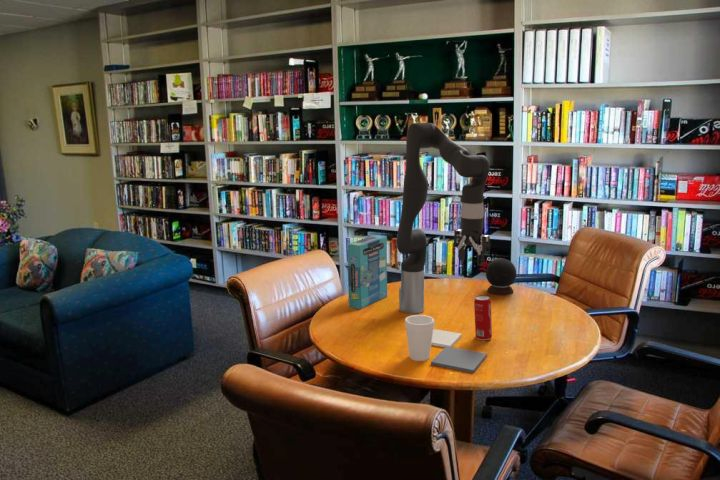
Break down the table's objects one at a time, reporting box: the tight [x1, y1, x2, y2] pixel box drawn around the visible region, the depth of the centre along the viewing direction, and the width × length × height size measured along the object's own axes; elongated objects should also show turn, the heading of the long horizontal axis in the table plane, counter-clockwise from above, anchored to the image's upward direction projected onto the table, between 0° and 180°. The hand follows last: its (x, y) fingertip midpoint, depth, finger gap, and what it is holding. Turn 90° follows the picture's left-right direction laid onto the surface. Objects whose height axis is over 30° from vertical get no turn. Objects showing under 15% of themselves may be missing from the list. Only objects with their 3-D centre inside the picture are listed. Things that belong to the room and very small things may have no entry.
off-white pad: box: [431, 328, 463, 348], centre depth 208 cm, size 12×12×1 cm
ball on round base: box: [485, 257, 517, 296], centre depth 259 cm, size 13×13×15 cm
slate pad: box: [430, 346, 488, 374], centre depth 190 cm, size 14×14×1 cm
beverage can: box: [473, 295, 493, 341], centre depth 207 cm, size 6×6×15 cm
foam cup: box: [404, 314, 435, 362], centre depth 192 cm, size 10×9×13 cm
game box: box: [347, 234, 388, 310], centre depth 247 cm, size 20×6×27 cm, turn 144°
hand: (470, 262), depth 200 cm, fingers open, 8 cm apart
